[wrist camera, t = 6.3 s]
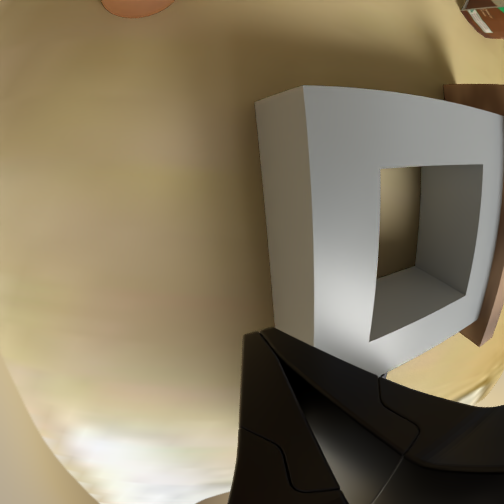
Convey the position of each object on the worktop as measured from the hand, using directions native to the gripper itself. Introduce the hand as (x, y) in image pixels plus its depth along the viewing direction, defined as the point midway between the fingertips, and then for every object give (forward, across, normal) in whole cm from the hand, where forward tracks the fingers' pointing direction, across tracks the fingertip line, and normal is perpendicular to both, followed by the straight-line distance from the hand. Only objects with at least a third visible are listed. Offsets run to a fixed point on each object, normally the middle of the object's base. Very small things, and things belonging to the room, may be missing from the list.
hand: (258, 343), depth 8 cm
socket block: (+8, -10, 0) cm, 13 cm away
